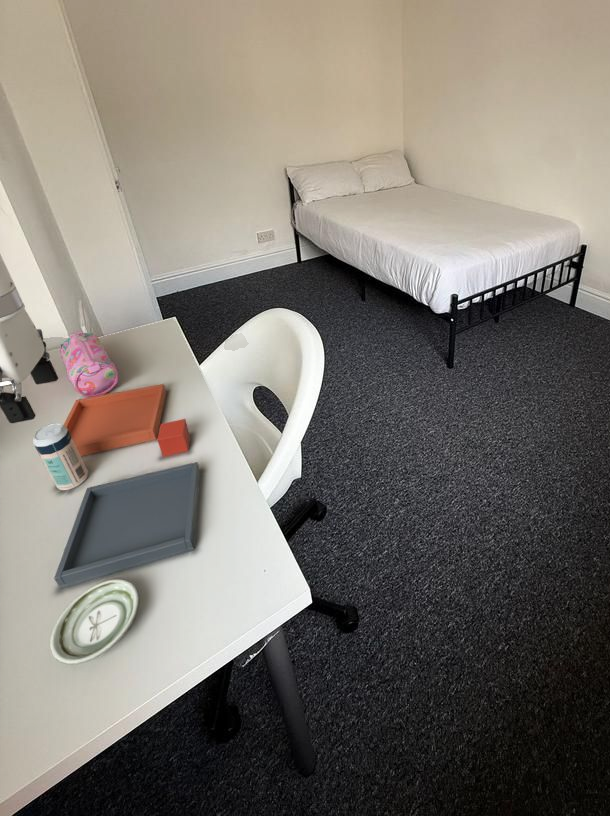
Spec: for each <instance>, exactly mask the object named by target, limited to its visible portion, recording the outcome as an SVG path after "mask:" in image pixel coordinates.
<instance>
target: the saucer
mask: <svg viewBox="0 0 610 816" xmlns="http://www.w3.org/2000/svg"><path fill="white" fill-rule="evenodd" d="M139 597H140V596H139V592H138V590H137V588H136V586H135V585H134V584H133V583H132V582H130V581H128V580H126V579H121V578H120V579H119V578H117V579H116V578H115V579H108V580H105V581H102V582H99V583H97V584H95V585H93V586H91V587H89V588H87V589H86V590H85V591H83V592H82V593H81V594H79V595H78V596H76V597H75V598H74V599H73V600H72V601H71V603H69V604H68V605H67V606H66V608H65V609H64V610H63V611H62V613H61V614H60V616H59V617H58V619H57V621H56V623H55V624H54V627H53V629H52V632H51V635H50V641H49V645H50V646H49V647H50V652H51V654H52V656H53V657H54V659H55V660H56V661H58V662H59V663H61V664H64V665H71V666H72V665H73V666H74V665H80V664H81V665H82V664H84V663H88V662H90V661H93V660H95V659H97V658H99V657H100V656H102V655H103V654H105V653H106V652H108V651H110V649H112V647H114V646H115V645H116V644H117V643H118V642H119V641H120V640H121V639H122V637H124V635H126V633H127V631H128V630H129V628H130V627H131V625H132V623H133V622H134V620H135V617H136V615H137V612H138V609H139V602H140V598H139Z"/></svg>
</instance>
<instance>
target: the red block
mask: <svg viewBox="0 0 610 816" xmlns="http://www.w3.org/2000/svg"><path fill="white" fill-rule="evenodd" d="M156 440H157V444H158V446H159V449H160V452H161V455H162V457H163V458H166V457H170V456H174V455H179V454H182V453H187V452H189V448H190V440H191V433H190V430H189V427H188V423H187V420H186V418H182V419H177V420H173V421H167V422H163V423H160V424H159V429H158V434H157V438H156Z"/></svg>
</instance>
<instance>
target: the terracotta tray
mask: <svg viewBox="0 0 610 816" xmlns="http://www.w3.org/2000/svg"><path fill="white" fill-rule="evenodd" d="M166 396H167V390H166V387H165V383H160V384H154V385H150V386H149V385H148V386H143V387H139V388H134V389H127V390H123V391H116V392H111V393H105V394H104V395H100V396H95V397H85V398H84V397H83V398H79V399H76V400H75V401H74V403H73V405H72V407H71V409H70V411H69V412H68V415H67V417H66V419H65V421H64V423H63V424H62V425H63V426H65V427H67V429H68V431H69V433H70V435H71V437H72V439H73V441H74V444H75V446H76V448H77V450H78V452H79V454H80V456H81V457H82V456H87V455H92V454H96V453H100V452H101V453H102V452H105V451H110V450H114V449H119V448H123V447H129V446H133V445H137V444H142V443H146V442H147V443H148V442H151V441H156V440H157V439H158V434H159V430H160V425H161V419H162V415H163V410H164V405H165V401H166Z"/></svg>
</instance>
